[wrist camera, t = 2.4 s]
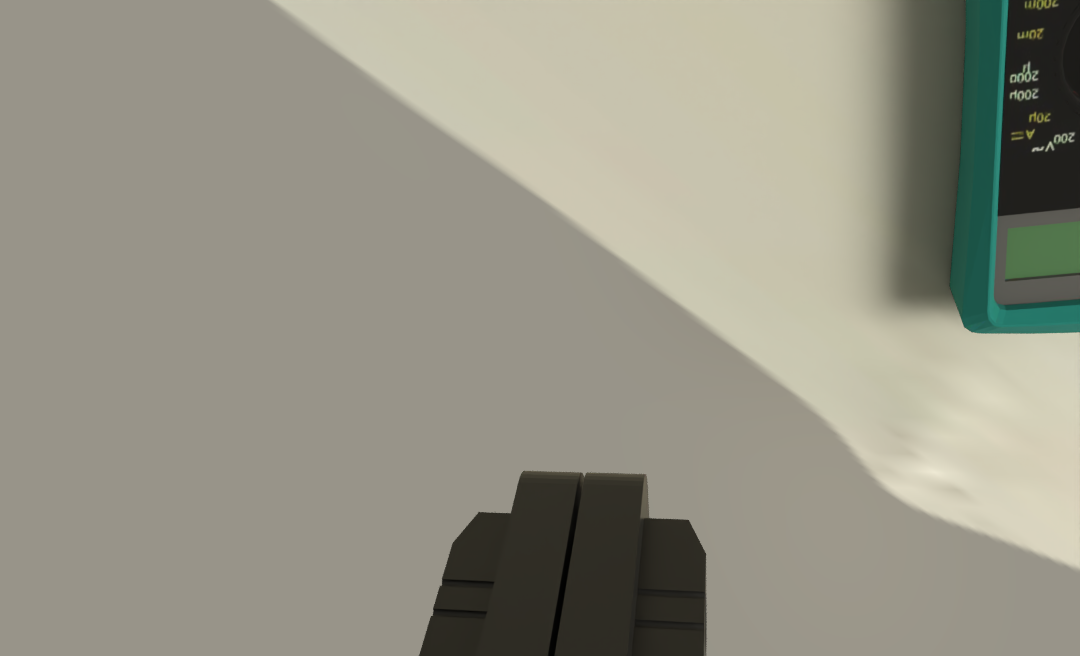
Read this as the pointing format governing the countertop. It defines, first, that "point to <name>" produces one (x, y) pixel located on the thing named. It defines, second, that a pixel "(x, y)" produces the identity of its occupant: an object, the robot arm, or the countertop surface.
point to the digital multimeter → (1019, 169)
